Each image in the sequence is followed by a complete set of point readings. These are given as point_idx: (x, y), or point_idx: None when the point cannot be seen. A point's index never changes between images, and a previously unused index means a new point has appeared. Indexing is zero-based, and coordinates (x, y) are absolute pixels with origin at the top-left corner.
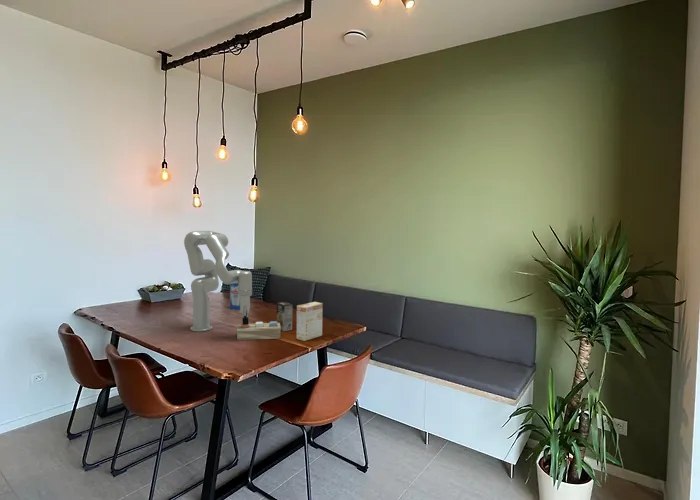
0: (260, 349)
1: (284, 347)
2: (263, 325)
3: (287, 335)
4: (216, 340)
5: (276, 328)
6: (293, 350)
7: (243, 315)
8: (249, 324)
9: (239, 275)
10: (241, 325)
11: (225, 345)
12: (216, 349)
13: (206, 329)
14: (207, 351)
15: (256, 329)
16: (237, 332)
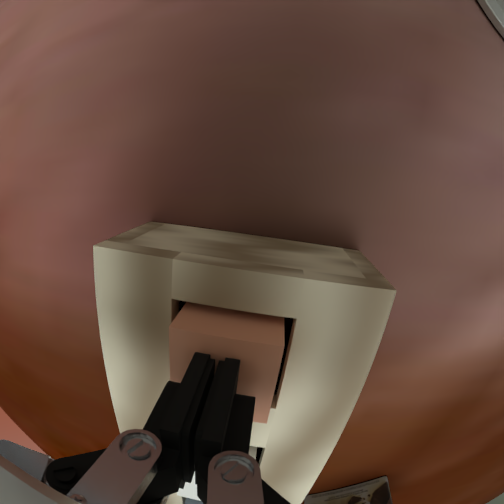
0: (3, 331)
1: (42, 419)
2: None
3: None
4: (189, 39)
5: None
6: (24, 424)
7: (99, 471)
8: (316, 410)
9: None
10: (171, 326)
11: (50, 133)
12: (11, 94)
13: (490, 11)
14: (6, 57)
15: (120, 420)
16: (113, 240)
